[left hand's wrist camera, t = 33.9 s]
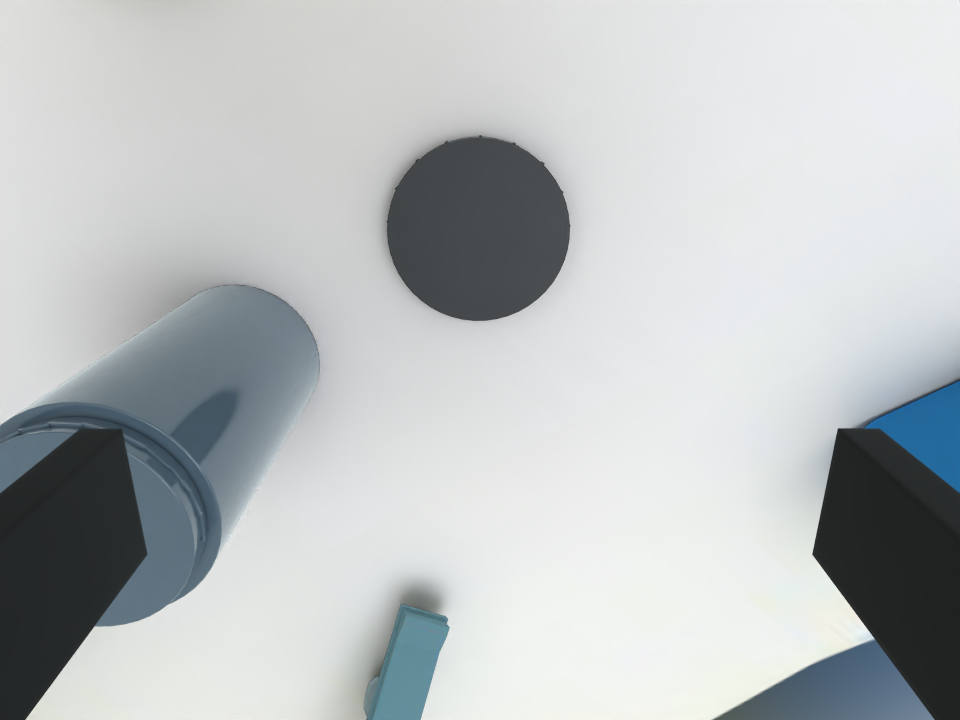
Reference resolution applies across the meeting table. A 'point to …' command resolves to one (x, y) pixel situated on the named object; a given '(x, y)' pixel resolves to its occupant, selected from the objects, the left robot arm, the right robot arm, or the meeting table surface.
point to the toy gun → (407, 666)
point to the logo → (929, 431)
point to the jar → (183, 427)
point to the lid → (478, 228)
